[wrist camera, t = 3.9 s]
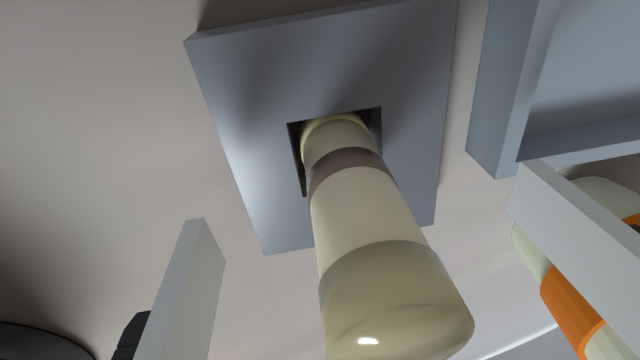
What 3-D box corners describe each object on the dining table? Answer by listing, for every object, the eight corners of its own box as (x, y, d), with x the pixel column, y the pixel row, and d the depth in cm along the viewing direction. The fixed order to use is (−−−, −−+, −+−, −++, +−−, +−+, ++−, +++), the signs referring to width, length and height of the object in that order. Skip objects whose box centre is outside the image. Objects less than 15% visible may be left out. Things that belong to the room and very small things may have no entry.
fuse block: (419, 202, 23) (433, 224, 21) (265, 230, 23) (264, 256, 21) (434, -11, 15) (459, -8, 13) (195, 31, 15) (183, 41, 13)
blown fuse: (366, 157, 20) (463, 364, 10) (305, 168, 20) (334, 388, 10) (363, 97, 18) (487, 287, 7) (293, 110, 18) (315, 319, 7)
